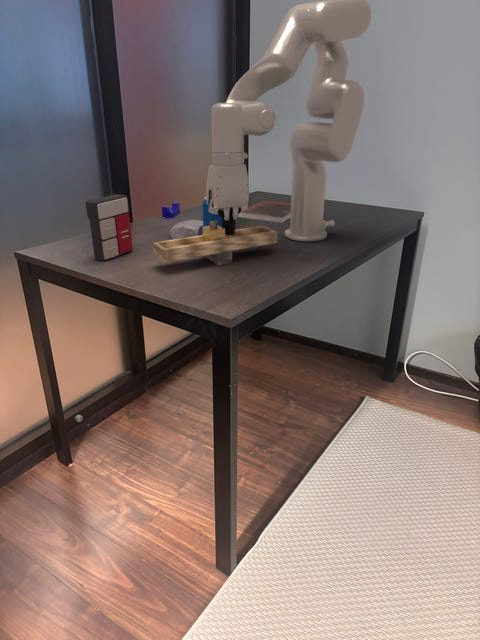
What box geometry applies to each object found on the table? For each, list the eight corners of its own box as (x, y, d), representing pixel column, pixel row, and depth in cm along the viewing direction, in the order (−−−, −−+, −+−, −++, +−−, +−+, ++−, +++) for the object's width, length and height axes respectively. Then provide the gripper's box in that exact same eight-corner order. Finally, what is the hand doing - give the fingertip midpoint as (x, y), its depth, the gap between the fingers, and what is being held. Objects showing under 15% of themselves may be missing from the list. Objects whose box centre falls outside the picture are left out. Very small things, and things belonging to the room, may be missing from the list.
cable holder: (171, 219, 163) (170, 207, 161) (162, 218, 164) (161, 206, 162) (183, 214, 169) (182, 203, 167) (175, 213, 170) (174, 202, 169)
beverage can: (228, 237, 143) (228, 196, 137) (220, 243, 137) (220, 201, 132) (208, 235, 144) (207, 195, 139) (200, 241, 139) (198, 199, 134)
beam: (261, 246, 134) (261, 224, 132) (277, 254, 128) (278, 231, 125) (153, 265, 120) (151, 241, 117) (166, 275, 114) (164, 250, 111)
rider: (216, 239, 124) (216, 218, 122) (225, 244, 121) (224, 222, 118) (203, 242, 122) (202, 220, 120) (211, 246, 119) (210, 224, 116)
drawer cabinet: (104, 262, 122) (97, 203, 115) (93, 259, 124) (84, 201, 117) (135, 251, 130) (129, 195, 124) (123, 248, 132) (117, 193, 126)
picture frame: (282, 224, 159) (305, 211, 176) (282, 216, 157) (305, 204, 175) (238, 218, 165) (264, 206, 183) (238, 211, 164) (264, 199, 182)
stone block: (168, 245, 142) (200, 240, 139) (164, 229, 140) (197, 224, 138) (180, 236, 152) (210, 231, 150) (177, 221, 151) (207, 216, 148)
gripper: (246, 155, 121) (246, 227, 129) (192, 159, 114) (196, 234, 122) (262, 159, 115) (261, 233, 123) (207, 163, 108) (209, 242, 116)
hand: (228, 234), depth 123 cm, fingers closed
